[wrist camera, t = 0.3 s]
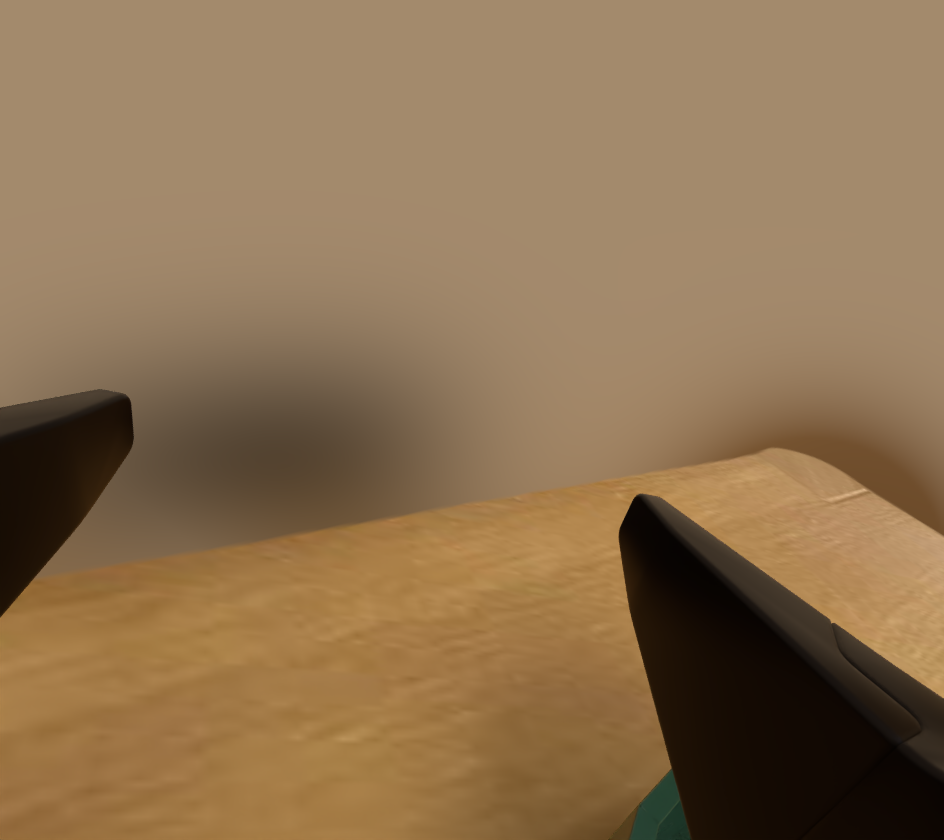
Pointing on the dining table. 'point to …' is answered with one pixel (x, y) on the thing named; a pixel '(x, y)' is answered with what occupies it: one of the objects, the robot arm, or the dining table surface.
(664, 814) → the pot
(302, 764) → the dining table surface
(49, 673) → the dining table surface
